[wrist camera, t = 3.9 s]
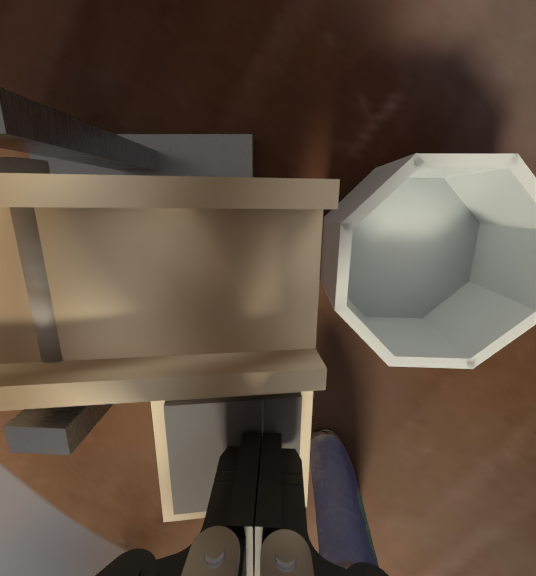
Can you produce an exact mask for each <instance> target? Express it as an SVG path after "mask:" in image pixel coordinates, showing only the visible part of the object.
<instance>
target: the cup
mask: <svg viewBox="0 0 536 576" xmlns="http://www.w3.org/2000/svg"><path fill="white" fill-rule="evenodd" d="M323 218H324V222H323V239H322V257H321V275H320V281H321V283H322V285H323V287H324V290H325V292H326V294H327V296H328V298H329V300H330V302H331V305H332V307H333V309H334V311H336V312H337V313H338V314H339V315H340V316H341V317H342V318H343V319H344V320H345V322H346V323H347V324H348V325H349V326H350V327H351V328H352V329H353V330H354V331H355V332H356V333H357V334H358V335H359V336H360V337H361V338H362V339H363V340H364V341H365V342H366V343H367V344H368V345H369V346H370V347H371V348H372V349H373V350H374V351H375V352H376V353H377V354H378V355H379V356H380V358H381V359H382V360H383V361H384V362H385V363H386V364H387V365H388V366H389V367H390V366H399V367H430V368H461V369H474V368H475V367H476V366H477V365H479V364H480V363H482V362H483V361H485V360H486V359H487V358H489V357H490V356H492V355H493V354H494V353H496V352H497V351H499V350H500V349H501V348H503V347H504V346H506V345H507V344H509V343H510V342H511V341H513V340H514V339H516V338H517V337H518V336H520V335H521V334H523V333H524V332H526V331H527V330H528V329H530V328H531V327H533V326H534V325H535V324H536V177H535V176H534V175H533V173H532V172H531V171H530V169H529V168H528V167H527V165H526V164H525V163H524V161H523V160H522V159H521V157H520V156H519V154H518V153H515V154H418V153H415V154H412V155H409V156H407V157H404V158H401V159H399V160H396V161H393V162H390V163H388V164H385V165H382V166H380V167H377V168H374V170H373V171H372V172H371V173H370V174H369V175H367V176H366V177H365V178H364V179H363V180H362V181H361V182H360V183H359V184H358V185H357V186H356V187H355V188H354V189H353V190H352V191H351V192H350V193H349V194H348V195H346V196H345V197H344V198H343V199H342V200H341V201H340V202H339V203H338V209H332V210H331V211H330V212H329V213H328V214H327V215H325V216H324V217H323Z"/></svg>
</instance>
